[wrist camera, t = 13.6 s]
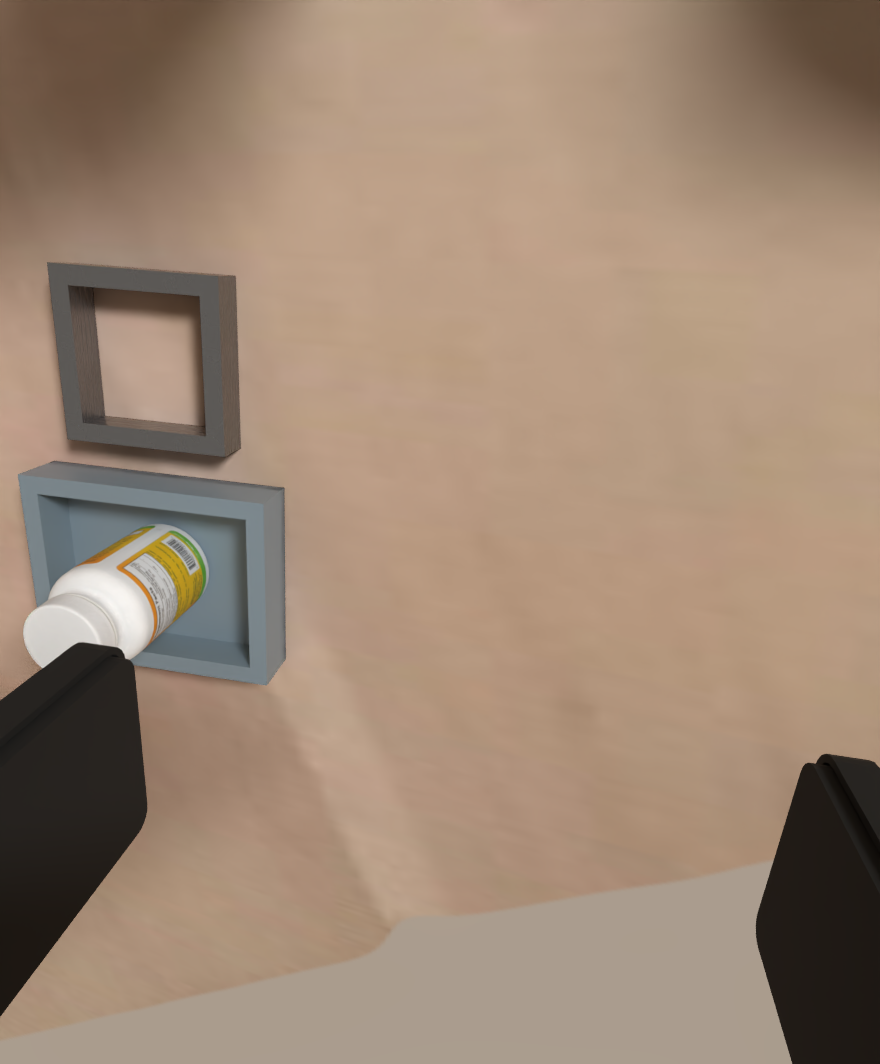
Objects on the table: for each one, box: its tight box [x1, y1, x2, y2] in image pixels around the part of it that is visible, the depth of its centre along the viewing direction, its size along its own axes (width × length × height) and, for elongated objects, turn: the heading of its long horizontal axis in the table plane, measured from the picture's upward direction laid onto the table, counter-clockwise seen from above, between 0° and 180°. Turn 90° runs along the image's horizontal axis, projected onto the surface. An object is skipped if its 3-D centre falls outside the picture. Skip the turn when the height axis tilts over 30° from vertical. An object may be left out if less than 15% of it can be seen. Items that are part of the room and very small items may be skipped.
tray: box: [18, 461, 286, 685], centre depth 41 cm, size 11×14×3 cm
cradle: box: [47, 262, 241, 457], centre depth 37 cm, size 9×9×2 cm
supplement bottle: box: [23, 524, 209, 668], centre depth 37 cm, size 5×5×10 cm
